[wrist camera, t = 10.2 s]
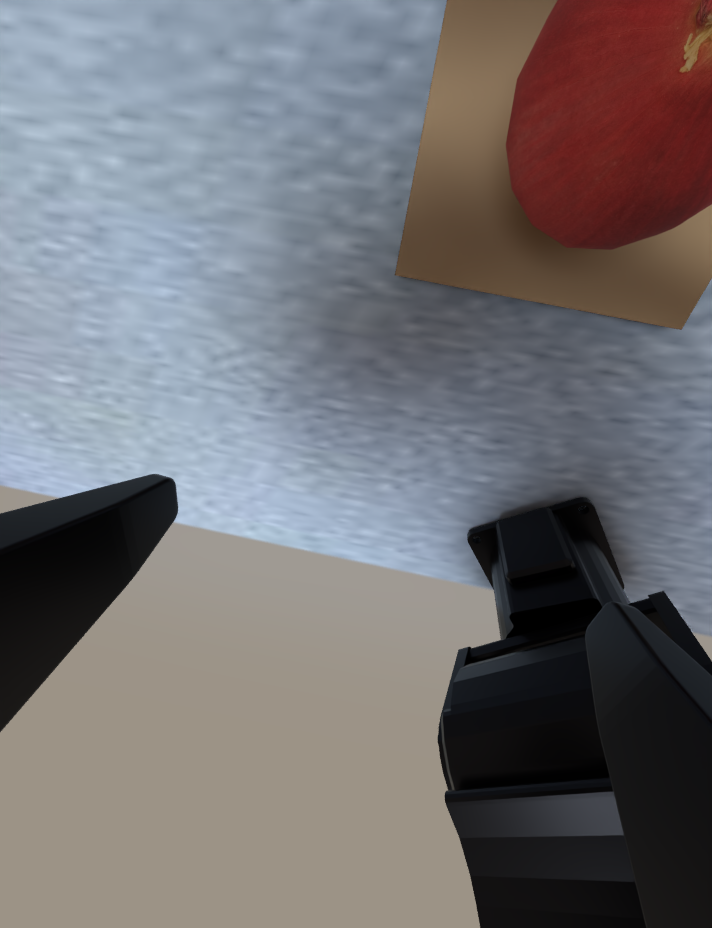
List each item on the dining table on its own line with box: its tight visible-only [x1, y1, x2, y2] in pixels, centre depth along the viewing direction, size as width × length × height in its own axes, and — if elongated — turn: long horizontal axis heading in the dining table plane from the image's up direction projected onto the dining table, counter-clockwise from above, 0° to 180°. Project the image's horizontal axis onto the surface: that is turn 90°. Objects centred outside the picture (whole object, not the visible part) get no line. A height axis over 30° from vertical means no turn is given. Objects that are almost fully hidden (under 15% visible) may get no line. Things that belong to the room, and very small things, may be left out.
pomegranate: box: [506, 0, 712, 250], centre depth 8 cm, size 6×6×8 cm
